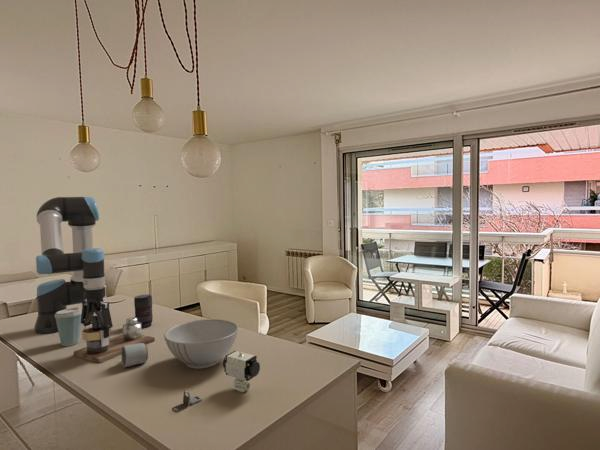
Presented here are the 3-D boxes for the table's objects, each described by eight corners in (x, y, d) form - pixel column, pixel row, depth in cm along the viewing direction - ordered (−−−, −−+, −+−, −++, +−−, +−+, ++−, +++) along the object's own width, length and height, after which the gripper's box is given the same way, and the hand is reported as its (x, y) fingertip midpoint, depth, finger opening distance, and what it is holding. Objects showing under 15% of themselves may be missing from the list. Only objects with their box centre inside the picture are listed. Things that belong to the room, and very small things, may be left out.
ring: (78, 338, 145) (77, 329, 144) (100, 330, 153) (100, 322, 153) (92, 342, 140) (92, 332, 140) (115, 334, 148) (114, 325, 148)
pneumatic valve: (232, 381, 122) (231, 346, 121) (261, 390, 116) (260, 353, 115) (221, 389, 117) (219, 352, 117) (249, 398, 111) (248, 359, 110)
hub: (119, 339, 159) (118, 320, 159) (134, 334, 166) (133, 315, 165) (130, 342, 156) (129, 322, 155) (145, 336, 162) (144, 317, 162)
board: (73, 355, 147) (73, 351, 147) (128, 335, 169) (128, 331, 169) (100, 363, 139) (100, 359, 139) (154, 340, 161) (154, 337, 161)
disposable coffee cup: (52, 349, 153) (50, 314, 152) (58, 341, 163) (57, 307, 162) (82, 345, 157) (80, 311, 156) (86, 337, 167) (84, 304, 166)
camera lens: (156, 323, 185) (154, 294, 184) (147, 328, 177) (146, 298, 176) (140, 323, 186) (139, 294, 185) (132, 328, 178) (130, 298, 177)
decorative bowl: (159, 382, 123) (157, 346, 122) (171, 351, 149) (170, 321, 148) (240, 373, 128) (239, 339, 127) (238, 345, 154) (237, 316, 154)
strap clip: (197, 398, 113) (196, 384, 112) (202, 401, 111) (202, 387, 110) (171, 409, 106) (170, 395, 106) (176, 413, 104) (175, 398, 104)
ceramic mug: (149, 364, 137) (148, 343, 137) (126, 370, 132) (125, 349, 132) (141, 355, 145) (140, 336, 145) (118, 361, 140) (117, 341, 140)
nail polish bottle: (82, 352, 145) (81, 317, 145) (100, 346, 152) (99, 312, 151) (94, 356, 142) (92, 320, 141) (112, 349, 148) (110, 315, 148)
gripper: (68, 287, 147) (71, 342, 149) (103, 292, 137) (106, 351, 138) (86, 283, 154) (89, 336, 155) (121, 288, 144) (123, 344, 145)
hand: (97, 343), depth 147 cm, fingers closed on ring, 9 cm apart
